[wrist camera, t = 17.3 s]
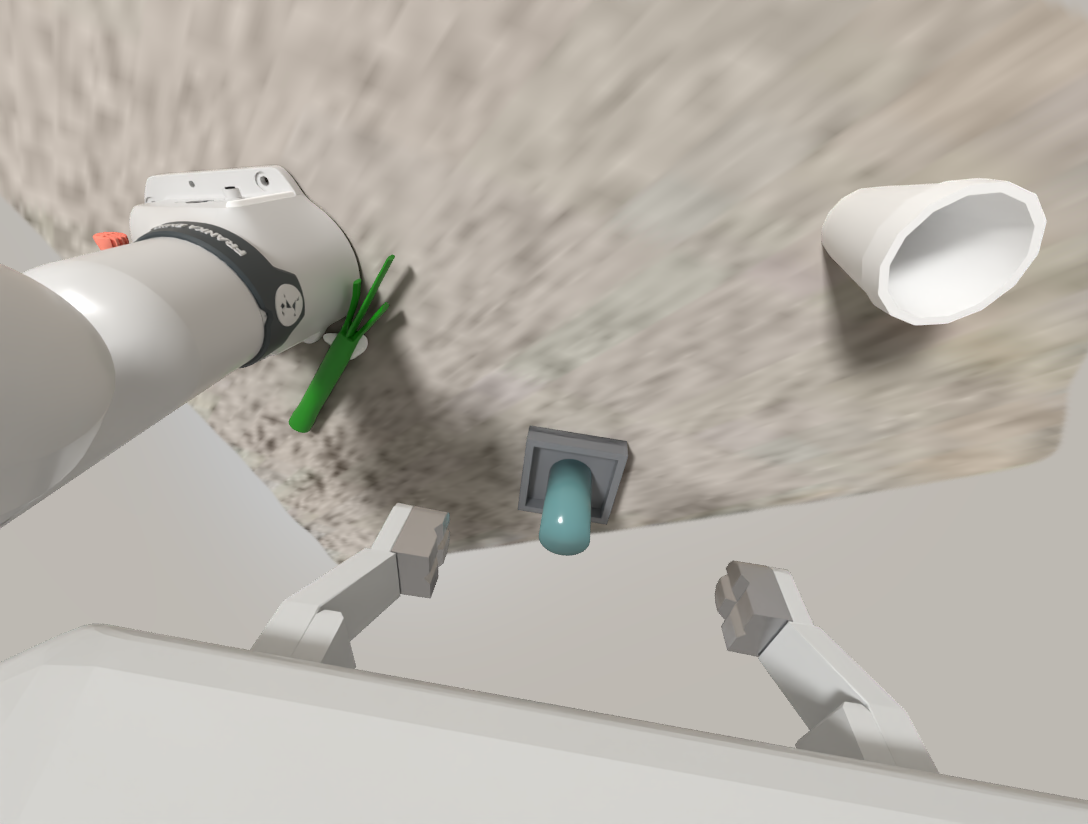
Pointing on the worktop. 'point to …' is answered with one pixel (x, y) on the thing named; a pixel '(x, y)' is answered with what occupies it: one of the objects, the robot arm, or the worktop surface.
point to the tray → (591, 450)
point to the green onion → (338, 354)
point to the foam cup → (935, 245)
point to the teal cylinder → (567, 508)
